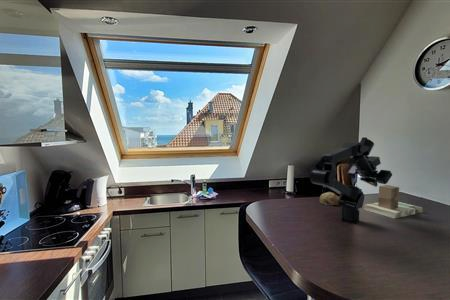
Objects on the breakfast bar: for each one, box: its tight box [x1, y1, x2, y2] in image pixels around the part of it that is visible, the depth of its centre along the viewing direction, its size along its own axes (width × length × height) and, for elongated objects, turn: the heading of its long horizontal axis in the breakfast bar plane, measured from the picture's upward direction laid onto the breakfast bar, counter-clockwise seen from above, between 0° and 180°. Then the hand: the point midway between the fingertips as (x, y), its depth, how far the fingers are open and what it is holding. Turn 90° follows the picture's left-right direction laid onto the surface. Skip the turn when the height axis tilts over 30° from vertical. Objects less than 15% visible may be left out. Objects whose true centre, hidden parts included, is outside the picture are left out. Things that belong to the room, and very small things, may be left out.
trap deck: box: [363, 201, 424, 219], centre depth 134 cm, size 22×15×2 cm
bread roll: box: [319, 191, 340, 206], centre depth 147 cm, size 10×10×8 cm
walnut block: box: [377, 184, 400, 209], centre depth 131 cm, size 6×6×10 cm
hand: (376, 186), depth 127 cm, fingers closed
